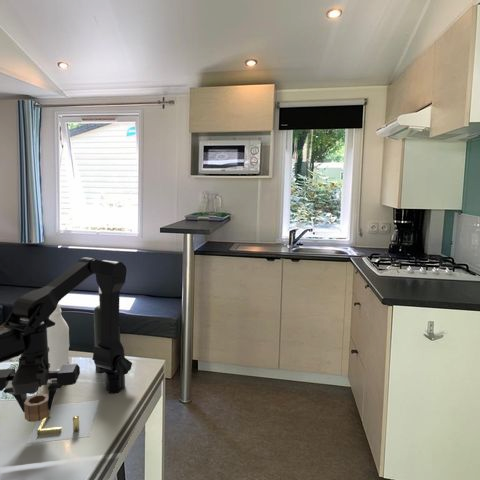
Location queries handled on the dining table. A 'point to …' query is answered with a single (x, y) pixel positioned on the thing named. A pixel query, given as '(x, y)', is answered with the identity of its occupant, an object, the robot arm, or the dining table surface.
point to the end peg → (75, 423)
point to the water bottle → (58, 341)
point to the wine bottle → (98, 325)
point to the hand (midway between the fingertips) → (37, 410)
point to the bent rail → (47, 430)
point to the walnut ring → (36, 407)
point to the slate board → (67, 421)
